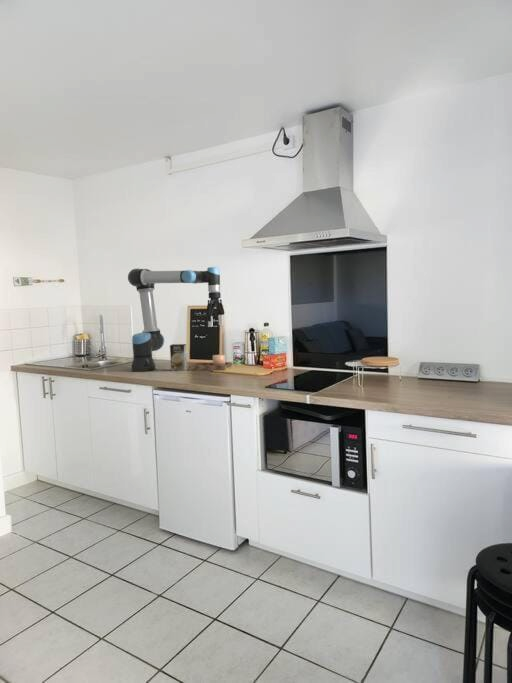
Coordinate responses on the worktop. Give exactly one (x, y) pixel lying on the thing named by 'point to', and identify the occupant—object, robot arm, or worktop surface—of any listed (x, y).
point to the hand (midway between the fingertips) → (215, 325)
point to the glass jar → (178, 357)
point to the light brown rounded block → (218, 360)
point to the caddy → (209, 366)
